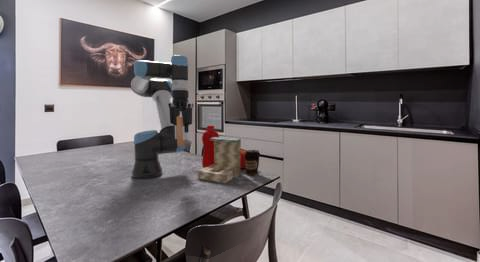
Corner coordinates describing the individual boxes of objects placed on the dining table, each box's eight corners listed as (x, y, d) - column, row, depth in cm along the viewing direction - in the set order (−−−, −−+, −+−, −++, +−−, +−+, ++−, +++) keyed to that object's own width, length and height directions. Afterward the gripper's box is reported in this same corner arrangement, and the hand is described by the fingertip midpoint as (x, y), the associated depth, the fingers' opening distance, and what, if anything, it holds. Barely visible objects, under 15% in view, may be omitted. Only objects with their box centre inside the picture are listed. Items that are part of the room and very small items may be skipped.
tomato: (224, 169, 136) (224, 151, 135) (233, 164, 149) (233, 147, 148) (246, 171, 132) (247, 153, 131) (253, 166, 144) (253, 149, 143)
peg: (175, 145, 113) (174, 116, 111) (181, 144, 116) (180, 116, 114) (181, 146, 111) (181, 116, 109) (187, 145, 114) (186, 116, 113)
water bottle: (208, 163, 151) (208, 124, 148) (221, 165, 144) (221, 125, 141) (198, 166, 143) (197, 125, 140) (211, 169, 137) (210, 126, 134)
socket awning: (197, 178, 120) (197, 141, 118) (215, 170, 135) (215, 137, 133) (224, 183, 113) (224, 143, 111) (240, 173, 128) (240, 139, 126)
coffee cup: (258, 177, 122) (259, 152, 120) (243, 176, 124) (243, 152, 122) (260, 172, 130) (260, 149, 129) (245, 171, 132) (246, 148, 131)
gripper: (160, 89, 111) (162, 138, 114) (189, 89, 103) (190, 141, 106) (172, 90, 117) (173, 136, 120) (199, 89, 110) (200, 139, 113)
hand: (181, 138), depth 113 cm, fingers closed on peg, 4 cm apart
